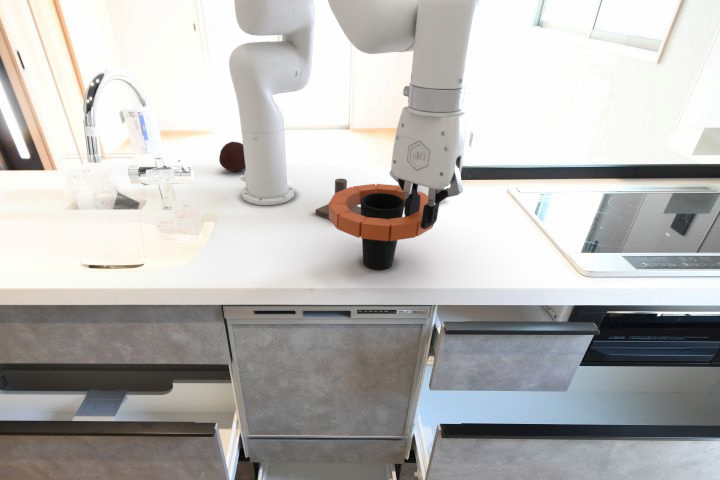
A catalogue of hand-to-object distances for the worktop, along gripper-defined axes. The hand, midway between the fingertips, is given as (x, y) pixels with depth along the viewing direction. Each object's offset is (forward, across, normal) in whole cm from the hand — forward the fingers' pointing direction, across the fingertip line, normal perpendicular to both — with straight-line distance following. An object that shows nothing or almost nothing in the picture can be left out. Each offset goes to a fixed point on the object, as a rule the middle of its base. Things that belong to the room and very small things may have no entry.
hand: (419, 222), depth 73 cm
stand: (+10, -28, +12) cm, 32 cm away
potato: (+10, -68, +14) cm, 70 cm away
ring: (+1, -8, 0) cm, 8 cm away
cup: (+11, -8, 0) cm, 13 cm away
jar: (+11, -19, +33) cm, 39 cm away
